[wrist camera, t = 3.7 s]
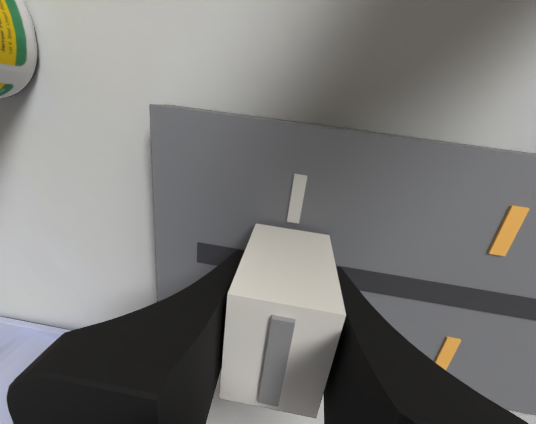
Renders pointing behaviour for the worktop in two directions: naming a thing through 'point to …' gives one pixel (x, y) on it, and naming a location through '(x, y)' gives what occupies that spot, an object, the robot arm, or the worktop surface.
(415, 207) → the fader console
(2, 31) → the supplement bottle
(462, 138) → the worktop surface
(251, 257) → the fader cap
